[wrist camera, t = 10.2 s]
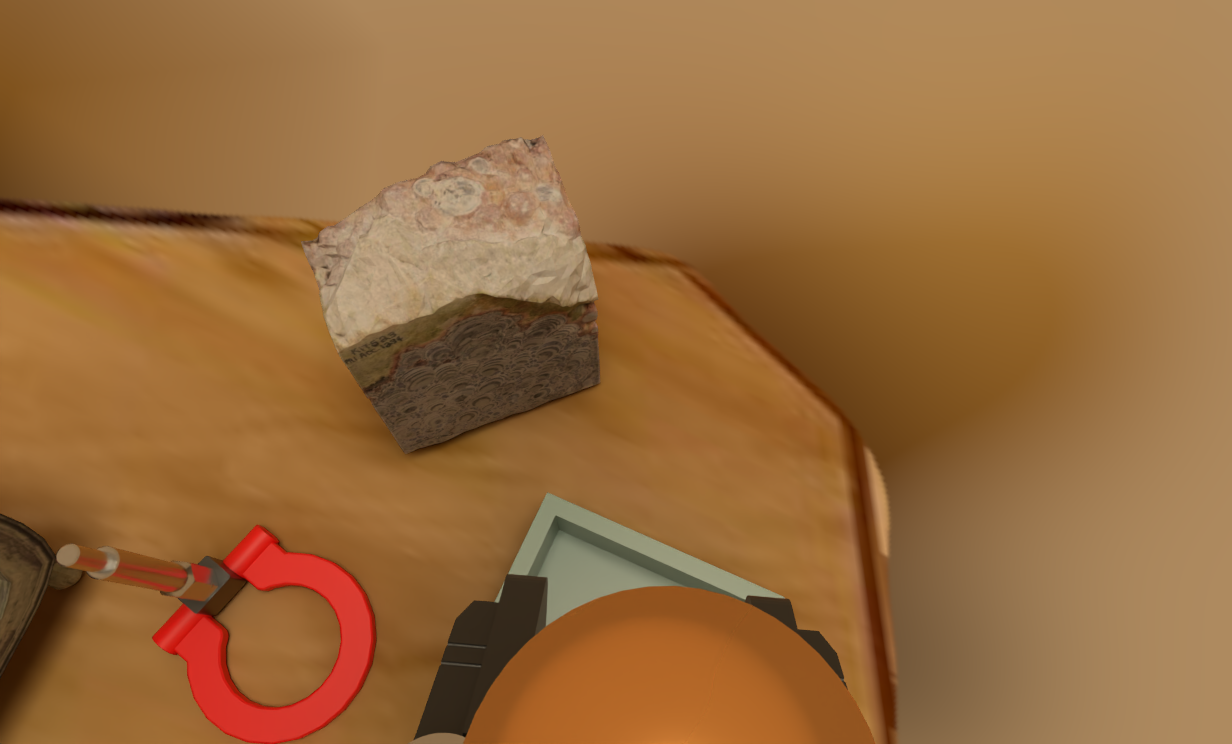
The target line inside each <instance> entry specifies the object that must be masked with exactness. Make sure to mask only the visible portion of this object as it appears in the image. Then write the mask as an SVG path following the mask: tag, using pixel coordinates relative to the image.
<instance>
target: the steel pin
mask: <svg viewBox="0 0 1232 744" xmlns="http://www.w3.org/2000/svg"><path fill="white" fill-rule="evenodd" d="M463 744H875V742H874V739H873V737H872V734H871V731H870V729H869V727H868V725H867V723H866V721H865V719H864V717H863V715H862V713H861V711H860V709H859V708H858V706H857V704H856V702H855V700H854V699H853V697H852V696H851V694H850V693H849V691H848V690H847V688H846V687H845V685H844V684H843V682H842V681H841V679H840V678H839V676H838V675H837V674H836V673H835V672H834V671H833V669H832V668H831V667H830V666H829V665H828V663H827V662H826V661H825V660H824V659H823V658H822V656H821V655H820V654H819V653H818V652H817V651H816V650H815V649H813V648H812V647H811V646H810V645H809V644H808V643H807V642H806V641H805V640H804V639H803V638H802V637H800V636H799V635H798V634H797V633H796V632H794V631H793V630H791V629H790V628H789V627H787V626H786V625H784V624H783V623H782V622H780V621H779V620H777V619H776V618H774V617H773V616H771V615H769V614H767V613H765V612H764V611H762V610H760V609H758V608H756V607H754V606H753V605H750V604H748V603H745V602H743V601H740V600H738V599H735V598H733V597H730V596H727V595H724V594H720V593H716V592H712V591H708V590H704V589H699V588H690V587H681V586H648V587H641V588H635V589H629V590H623V591H619V592H616V593H613V594H609V595H606V596H603V597H599V598H596V599H594V600H592V601H590V602H588V603H585V604H583V605H581V606H579V607H577V608H575V609H572V610H571V611H569V612H568V613H566V614H564V615H563V616H561V617H560V618H558V619H556V620H555V621H553V622H552V623H550V624H549V625H547V626H546V627H545V628H544V629H543V630H541V631H540V632H539V633H538V634H536V635H535V636H534V637H533V638H532V639H530V640H529V641H528V642H527V643H526V644H525V645H524V646H523V647H522V648H521V649H520V650H519V651H518V653H517V654H516V655H515V656H514V657H513V658H512V659H511V660H510V661H509V662H508V663H507V665H506V666H505V667H504V669H503V670H502V671H501V673H500V674H499V676H498V677H497V678H496V680H495V681H494V682H493V684H492V685H491V687H490V688H489V690H488V692H487V694H486V695H485V697H484V699H483V701H482V703H481V704H480V706H479V708H478V710H477V711H476V713H475V716H474V718H473V721H472V723H471V725H470V728H469V730H468V733H467V735H466V737H465V740H464V742H463Z"/></svg>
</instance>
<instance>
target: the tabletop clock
mask: <svg viewBox="0 0 1232 744" xmlns="http://www.w3.org/2000/svg"><path fill="white" fill-rule="evenodd" d="M82 572H83V571H82V570H78V569H73V568H68V567H63V566H60V565H59V564H58V563H57V561H56V555H55V554H54V552H53V551H52V549H51V548H50V546H49V545H48V544H47V542H46V541H45V539H44V538H43V537H41V536H40V535H39V534H37V533H36V532H35V531H33V530H32V529H30V528H29V527H27V526H26V525H24V524H23V523H21V522H18V521H16V520H14V519H12V518H9V517H7V516H5V515H2V514H0V678H1V676H2V674H3V672H4V670H5V668H6V667H7V665H8V663H9V661H10V659H11V657H12V656H13V654H14V652H15V650H16V648H17V646H18V645H19V643H20V641H21V639H22V637H23V635H24V634H25V632H26V630H27V628H28V626H29V624H30V623H31V621H32V619H33V617H34V615H35V613H36V611H37V609H38V607H39V605H40V603H41V601H42V598H43V596H44V593H45V591H46V589H47V586H50V587H52V588H54V589H65V588H68V587H70V586H72V585H74V584H75V583H76V582H77V581H78V580H79V579H80V578H81V575H82Z"/></svg>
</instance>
